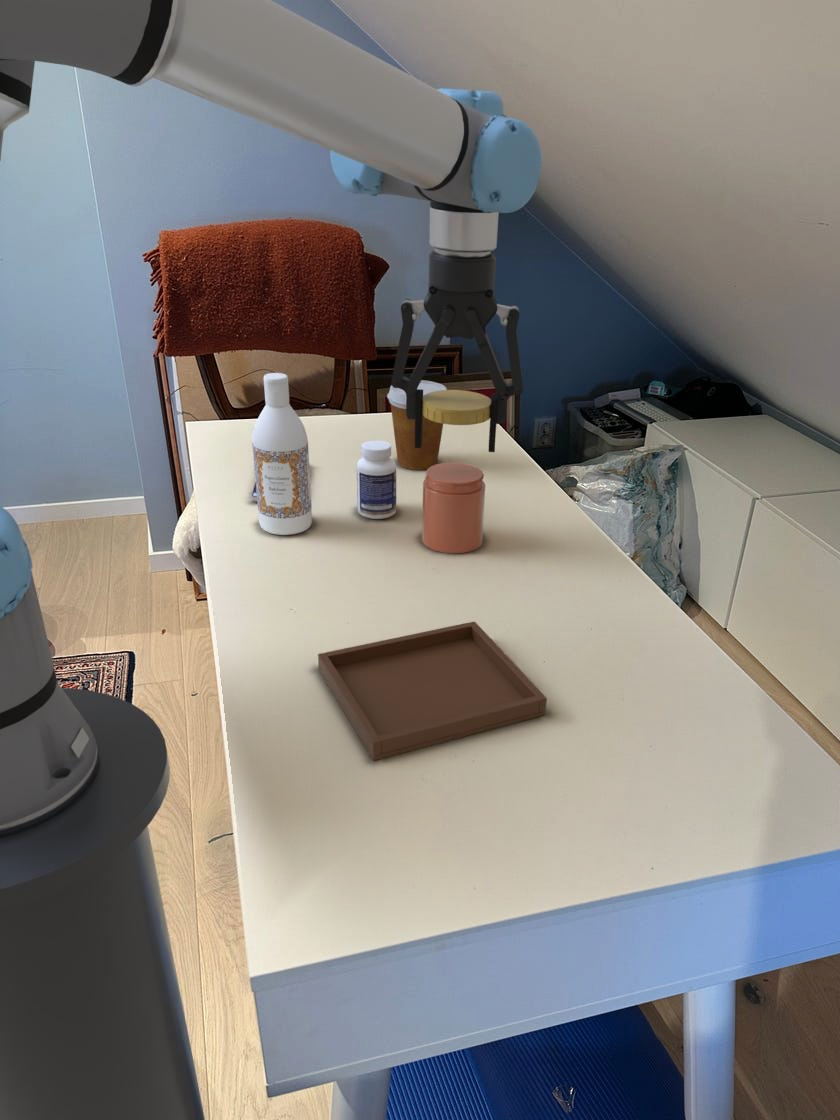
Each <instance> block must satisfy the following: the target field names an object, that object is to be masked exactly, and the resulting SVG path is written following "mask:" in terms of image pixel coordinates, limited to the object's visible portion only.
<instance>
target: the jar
mask: <svg viewBox="0 0 840 1120" xmlns="http://www.w3.org/2000/svg"><path fill="white" fill-rule="evenodd" d="M484 476H485V473H484V472H483V470H481V469H480V468H479V467H476V466H474V465H471V464H467V463H462V462H442V463H437V464H436V465H433V466H431V467H429V468H428V469H426V472H425V476H424V480H423V481H422V512H421V513H422V516H421V518H422V520H421V541H422V543H423V545H424V546H425V547H427V548H429V549H430V550H432V551H434V552H439V553H444V554H463V553H469V552H473V551H474V550H477V549H478V548H479V547H481V546H482V544H483V536H484V535H483V534H484V516H485V515H484V514H485V502H486V501H485V498H486V497H485V496H486V483H485V482H484Z"/></svg>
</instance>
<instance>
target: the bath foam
mask: <svg viewBox="0 0 840 1120" xmlns="http://www.w3.org/2000/svg"><path fill="white" fill-rule="evenodd" d="M263 387H264V388H263V389H264V401H265V405H264V407H263V409H262V411H260V414H259V416H258V418H257V419H256V420H255V424H254V427H253V431H252V437H251V438H252V439H251V440H252V442H251V445H252V455H253V456H252V457H253V467H254V468H253V469H254V476H255V477H254V479H255V480H256V492H257V501H256V502H257V511H258V522H259V526H260V528H261V529H262V530H263V531H264V532H267V533H269V534H272V535H273V534H274V535H280V536H290V535H297V534H300V533H303V532H305V531H306V530H308V529H309V528H310V527H311V526H312V523H313V513H312V511H313V509H312V507H313V506H312V492H311V491H312V490H311V474H310V473H311V472H310V470H311V469H310V455H309V454H310V453H309V452H310V451H309V440H308V439H309V438H308V435H307V431H306V427H305V425H304V423H303V422H302V420H301V418H300V416H298V414H297V413H296V411H295V410H294V409H293V407H292V406H291V404H290V389H289V377H288V375H287V374H285V373H282V372H270V373H269V372H268V373H265V374H264V375H263ZM255 480H254V481H255Z"/></svg>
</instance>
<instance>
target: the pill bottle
mask: <svg viewBox="0 0 840 1120" xmlns="http://www.w3.org/2000/svg"><path fill="white" fill-rule="evenodd" d="M360 453H361V458H360V459H359V460H358V461H357V462H356V494H357V495H356V496H357V497H356V498H357V499H356V500H357V512H358V514H359V515H360V516H362V517H364V518H367V519H372V520H382V519H388V518H390V517H393V516H394V515H395V514H396V512H397V464H396V462H395V460H394V459H393V458H391V456H392V445H391V443H389V442H387V441H384V440H368V441H365V442H363V443H362V444H361V452H360Z"/></svg>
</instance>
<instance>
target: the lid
mask: <svg viewBox="0 0 840 1120" xmlns="http://www.w3.org/2000/svg"><path fill="white" fill-rule="evenodd" d="M422 415H423V416H424V417H425V418H427V419H429V420H431V421H434V422H438V423H442V424H443V425H448V426H449V425H450V426H471V425H472V426H473V425H479V424H482V423H485V422H487V421H490V417H491V397H489V396H486V395H485V394H482V393H479V392H475V391H469V390H463V389H462V390H461V389H447V390H441V391H434V392H430V393H427V394H425V395H424V396H423V398H422Z"/></svg>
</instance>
